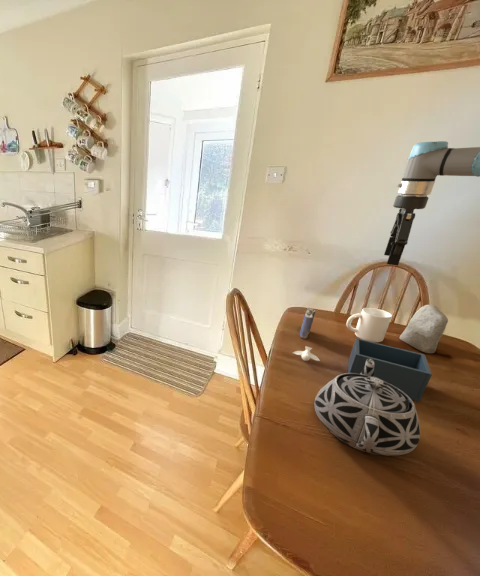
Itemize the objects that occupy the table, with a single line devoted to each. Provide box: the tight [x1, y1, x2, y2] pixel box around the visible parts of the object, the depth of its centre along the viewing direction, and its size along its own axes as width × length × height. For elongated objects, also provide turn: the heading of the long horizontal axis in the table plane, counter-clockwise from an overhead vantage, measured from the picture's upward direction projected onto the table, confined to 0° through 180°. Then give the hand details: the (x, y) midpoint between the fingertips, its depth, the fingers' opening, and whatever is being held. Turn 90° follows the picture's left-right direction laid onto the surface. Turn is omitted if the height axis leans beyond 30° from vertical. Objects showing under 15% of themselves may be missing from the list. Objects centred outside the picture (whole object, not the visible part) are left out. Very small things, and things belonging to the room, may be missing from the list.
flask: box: [299, 307, 316, 340], centre depth 117 cm, size 9×3×11 cm, turn 140°
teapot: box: [313, 359, 421, 457], centre depth 73 cm, size 19×31×15 cm, turn 142°
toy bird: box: [292, 345, 321, 362], centre depth 103 cm, size 8×5×5 cm, turn 51°
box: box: [347, 337, 433, 403], centre depth 91 cm, size 16×12×9 cm
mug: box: [346, 307, 393, 343], centre depth 115 cm, size 12×8×10 cm
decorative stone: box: [398, 303, 449, 354], centre depth 107 cm, size 11×6×15 cm, turn 171°
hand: (390, 259), depth 106 cm, fingers open, 13 cm apart
